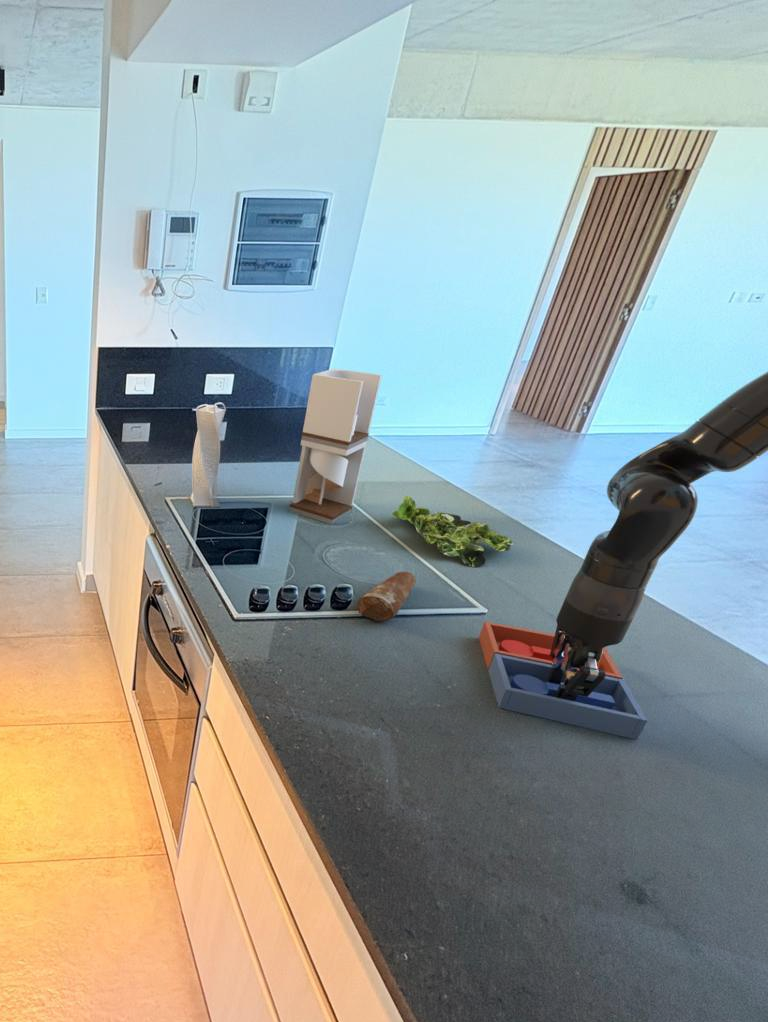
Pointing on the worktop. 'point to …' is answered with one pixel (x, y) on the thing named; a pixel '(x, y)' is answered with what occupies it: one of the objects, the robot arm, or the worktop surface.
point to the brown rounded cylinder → (387, 597)
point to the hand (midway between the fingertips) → (556, 698)
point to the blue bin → (617, 721)
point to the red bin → (498, 633)
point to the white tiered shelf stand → (334, 442)
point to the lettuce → (452, 533)
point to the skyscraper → (206, 456)
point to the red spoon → (525, 649)
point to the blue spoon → (550, 689)
